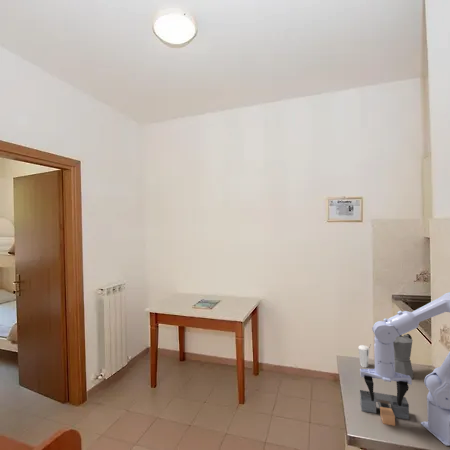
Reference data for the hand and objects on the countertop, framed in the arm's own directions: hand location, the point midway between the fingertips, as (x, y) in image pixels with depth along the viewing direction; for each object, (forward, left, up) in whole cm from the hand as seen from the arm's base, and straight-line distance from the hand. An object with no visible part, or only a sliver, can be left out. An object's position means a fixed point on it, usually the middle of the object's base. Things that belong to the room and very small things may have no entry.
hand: (385, 401), depth 91 cm
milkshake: (+35, -15, -6) cm, 39 cm away
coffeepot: (+27, -27, -6) cm, 39 cm away
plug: (+4, -2, -6) cm, 7 cm away
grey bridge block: (+4, -2, -6) cm, 8 cm away
